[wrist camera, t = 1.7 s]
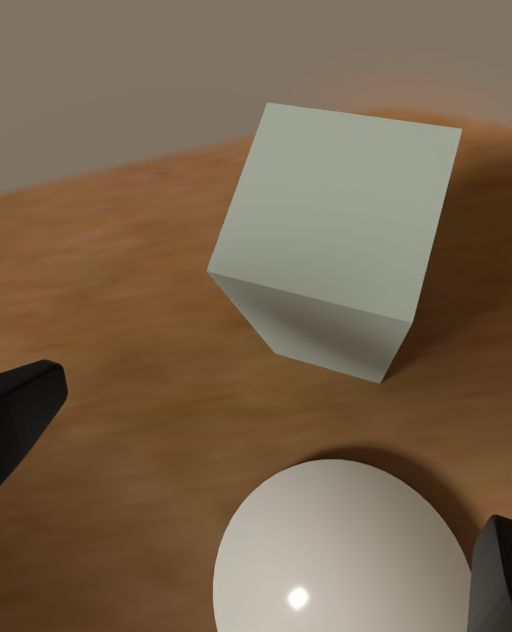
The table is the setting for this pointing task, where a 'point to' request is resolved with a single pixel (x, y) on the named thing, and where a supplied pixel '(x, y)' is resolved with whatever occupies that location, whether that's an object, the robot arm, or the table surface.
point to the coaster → (339, 557)
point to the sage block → (334, 233)
